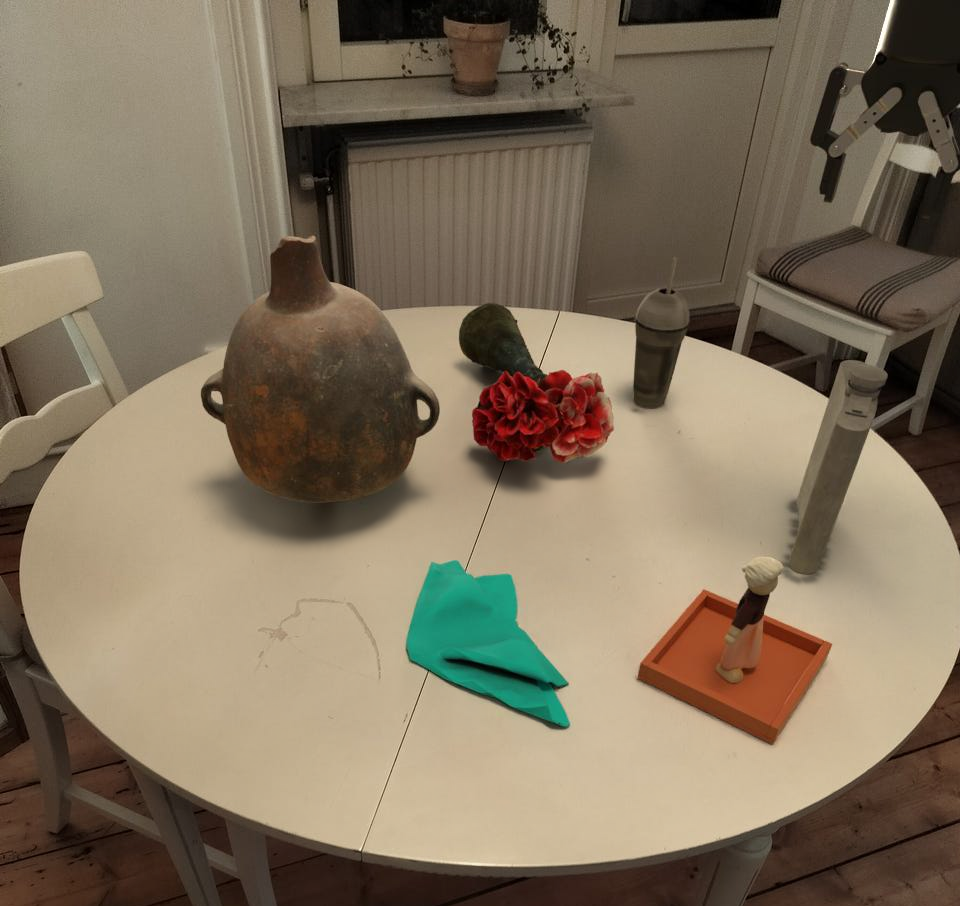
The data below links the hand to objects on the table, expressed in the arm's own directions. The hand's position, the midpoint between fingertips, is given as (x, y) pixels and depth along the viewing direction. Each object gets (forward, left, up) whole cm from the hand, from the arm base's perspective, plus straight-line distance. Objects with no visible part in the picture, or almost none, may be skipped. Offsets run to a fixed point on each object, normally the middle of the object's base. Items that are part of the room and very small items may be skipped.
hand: (876, 208), depth 78 cm
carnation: (+38, 0, -34) cm, 51 cm away
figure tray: (-6, +27, -34) cm, 44 cm away
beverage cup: (+26, -16, -34) cm, 46 cm away
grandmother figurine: (-6, +27, -34) cm, 44 cm away
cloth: (+16, +39, -34) cm, 54 cm away
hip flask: (-4, +1, -34) cm, 35 cm away
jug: (+46, +28, -34) cm, 64 cm away
